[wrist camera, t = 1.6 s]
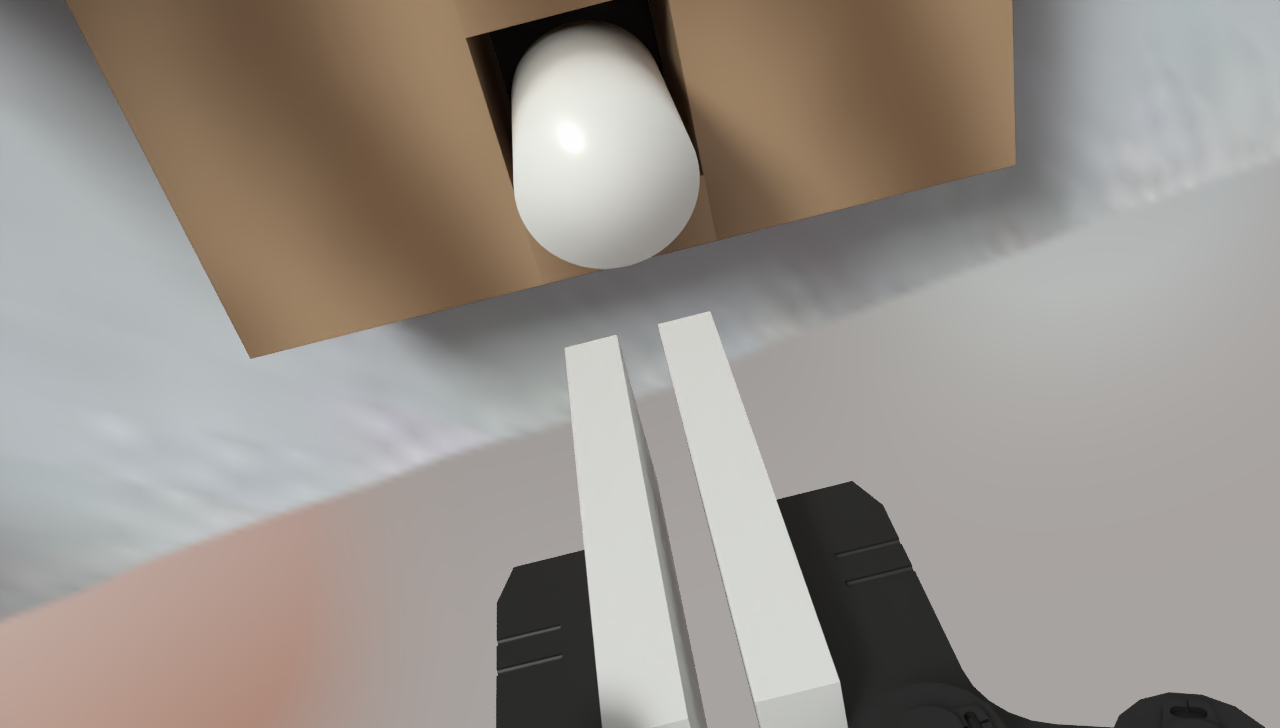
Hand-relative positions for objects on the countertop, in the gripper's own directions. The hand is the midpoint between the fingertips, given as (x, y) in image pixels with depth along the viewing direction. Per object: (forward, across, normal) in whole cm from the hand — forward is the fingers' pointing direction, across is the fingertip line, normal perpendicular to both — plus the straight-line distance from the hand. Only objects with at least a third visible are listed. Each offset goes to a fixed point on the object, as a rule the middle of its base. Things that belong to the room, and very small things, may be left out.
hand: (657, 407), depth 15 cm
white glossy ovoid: (+14, 0, 0) cm, 14 cm away
